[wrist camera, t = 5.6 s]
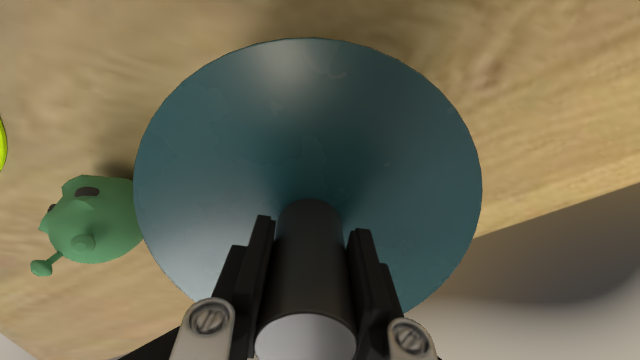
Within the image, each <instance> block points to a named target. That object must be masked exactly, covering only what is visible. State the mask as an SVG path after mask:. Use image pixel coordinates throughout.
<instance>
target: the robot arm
mask: <svg viewBox="0 0 640 360" xmlns="http://www.w3.org/2000/svg"><path fill="white" fill-rule="evenodd" d="M275 227H276V220H271V216H266V215H258V216H257V219H256V222H255V225H254V228H253V231H252V234H251V237H250V240H249V243H248V246H241V245H232V246H231V248H230V250H229V253H228V256H227V258H226V261H225V263H224V266H223V268H222V271H221V273H220V276H219V278H218V281H217V283H216V286H215V288H214V291H213V293H212V296H211V298H205V299H202V300H199V301H198V302H196V303H194V304H193V305H192V306H191V307H190V308H189V309H188V310H187V311H186V313H185V315H184V317H183V320H182V323H181V325H180V326H179V327H177V328H175V329H173V330H171V331H169V332H168V333H166V334H164V335H162V336H160V337H158V338H157V339H155V340H153V341H151V342H149V343H147V344H146V345H144V346H142V347H140V348H138V349H136V350H135V351H133V352H131V353H129V354H127V355H125V356H124V357H122V358H120V359H118V360H247V358H254V353H255V352H254V347H253V339H254V334H255V329H256V326H257V322H258V317H259V312H260V307H261V302H262V297H263V292H264V287H265V282H266V277H267V272H268V267H269V262H270V257H271V252H272V247H273V242H274V235H275ZM346 257H347V264H348V271H349V278H350V285H351V292H352V299H353V306H354V313H355V320H356V328H357V335H358V350H357V353H356V355H355V357H354V359H353V360H442V359H440V358H439V357H438V356H437V354H436V350H435V347H434V343H433V340H432V338H431V336H430V334H429V333H428V332H427V330H426V329H425V328H424V327H422V325H420V324H419V323H417V322H416V321H414V320H411V319H408V318H404V315H403V312H402V309H401V305H400V302H399V299H398V296H397V293H396V289H395V286H394V283H393V280H392V277H391V274H390V270H389V267H388V265H387V264H386V263H380V262H379V259H378V255H377V252H376V248H375V244H374V241H373V237H372V234H371V231H370V229H364V228H356V229H355V231H352V230H351V232H350V235H349V239H348V243H347V246H346Z"/></svg>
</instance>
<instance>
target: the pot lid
mask: <svg viewBox="0 0 640 360" xmlns="http://www.w3.org/2000/svg"><path fill="white" fill-rule="evenodd" d="M133 200H134V207H135V212H136V217H137V222H138V225H139V227H140V230H141V233H142V236H143V238H144V241H145V243H146V245H147V247H148V248H149V250H150V252H151V254H152V256H153V258H154V259H155V261H156V262H157V263H158V265H159V266H160V268H161V269H162V270H163V272H164V273H165V274H166V275H167V276H168V277H169V279H170V280H171V281H172V282H173V283H174V284H175V285H176V286H177V287H178V288H179V289H180V290H181V291H183V292H184V293H185V294H186V295H187V296H188V297H189V298H191V299H192V300H193V301H195V302H198V301H199V300H202V299H205V298H211V296H212V293H213V291H214V288H215V286H216V283H217V281H218V278H219V276H220V273H221V271H222V268H223V266H224V263H225V261H226V258H227V256H228V253H229V250H230V248H231V246H232V245H241V246H248V243H249V240H250V237H251V234H252V231H253V228H254V225H255V222H256V219H257V216H258V215H266V216H271V220H276V227H275V235H274V242H273V247H272V252H271V257H270V262H269V267H268V272H267V277H266V282H265V287H264V292H263V297H262V302H261V307H260V312H259V317H258V322H257V326H256V329H255V334H254V339H253V347H254V352H255V354H256V356H257V358H258V359H259V360H353V359H354V357H355V355H356V353H357V350H358V335H357V328H356V320H355V313H354V306H353V299H352V292H351V285H350V278H349V271H348V264H347V257H346V246H347V243H348V239H349V235H350V232H351V230H352V231H355V229H356V228H364V229H370V231H371V234H372V237H373V241H374V244H375V248H376V252H377V255H378V259H379V262H380V263H386V264H387V265H388V267H389V270H390V274H391V277H392V280H393V283H394V286H395V289H396V293H397V296H398V299H399V302H400V305H401V309H402V312H403V314H404V313H406V312H408V311H409V310H411V309H412V308H414V307H415V306H417V305H418V304H420V303H421V302H423V301H424V300H425V299H426V298H428V297H429V296H430V295H431V294H432V293H433V292H435V291H436V290H437V289H438V288H439V287H440V286H441V285H442V284H443V283H444V282H445V281H446V280H447V279H448V278H449V276H450V275H451V274H452V272H453V271H454V270H455V268H456V267H457V266H458V264H459V263H460V262H461V260H462V258H463V256H464V255H465V253H466V251H467V249H468V247H469V245H470V243H471V241H472V238H473V236H474V233H475V231H476V227H477V223H478V219H479V215H480V211H481V202H482V176H481V168H480V163H479V159H478V154H477V150H476V147H475V145H474V142H473V140H472V137H471V135H470V132H469V130H468V128H467V126H466V125H465V123H464V121H463V120H462V118H461V117H460V115H459V113H458V112H457V110H456V109H455V107H454V106H453V105H452V104H451V103H450V101H449V100H448V99H447V98H446V97H445V96H444V94H443V93H442V92H441V91H440V90H439V89H438V88H437V87H436V86H434V85H433V84H432V83H431V82H430V81H429V80H427V79H426V78H425V77H424V76H423V75H422V74H420V73H419V72H417V71H416V70H414V69H412V68H411V67H409V66H407V65H406V64H404V63H403V62H401V61H399V60H398V59H396V58H393V57H391V56H389V55H386V54H384V53H382V52H379V51H377V50H375V49H372V48H369V47H365V46H361V45H358V44H354V43H350V42H346V41H342V40H333V39H324V38H315V37H311V38H284V39H279V40H273V41H268V42H262V43H257V44H253V45H250V46H247V47H245V48H242V49H239V50H236V51H233V52H230V53H228V54H226V55H224V56H222V57H220V58H218V59H216V60H214V61H212V62H210V63H208V64H206V65H204V66H203V67H202V68H200V69H199V70H198V71H196V72H195V73H193V74H192V75H191V76H189V77H188V78H187V79H185V80H184V81H183V82H182V83H181V84H180V85H179V86H178V87H177V88H176V89H175V90H174V91H173V92H172V93H171V94H170V95H169V96H168V97H167V98H166V99H165V100H164V102H163V103H162V104H161V106H160V107H159V109H158V110H157V112H156V113H155V114H154V116H153V117H152V119H151V121H150V123H149V125H148V127H147V129H146V131H145V133H144V135H143V137H142V139H141V142H140V146H139V149H138V153H137V156H136V160H135V167H134V175H133Z"/></svg>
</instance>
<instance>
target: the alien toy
mask: <svg viewBox="0 0 640 360" xmlns="http://www.w3.org/2000/svg"><path fill="white" fill-rule="evenodd" d="M62 193H63V197H62V198H61V199H60V200H59V202H58V203H57V204H52V205H51V206H50V207H49V209H48V212H47V213H46V215H45V216H44V218H43V219H42V221H41V224H40V226H39V229H40V230H41V231H43V232H45V233H47V234H48V236H49V239H50V242H51V243H52V245H53V247H54V248H55V249H56V250H57V251H58V252H57V253H55V254H54V255H53V256H51V257H50V258H49V259H47V260H46V261H45V260H34V261H32V262H31V271H32V273H34V274H35V275H37V276H50V275H51V274H52V265H51V264H53V263H54V262H55V261H56V260H58V259H59V258H60V257H62V256H64V257H65V258H68V259H70V260H72V261H76V262H80V263H88V264H94V263H102V262H107V261H110V260H113V259H116V258H118V257H120V256H122V255H124V254H126V253H127V252H129V251H130V250H131V249H133V248H134V247H135V246H136V245H138V244H139V243H140V242H141V241H142V239H143V236H142V233H141V230H140V227H139V225H138V222H137V217H136V212H135V207H134V200H133V181H132V180H129V179H126V178H117V177H101V176H90V175H80V176H78V177H76V178H73V179H71V180H69V181H68V182H66V183H65V184H64V185H63V186H62Z"/></svg>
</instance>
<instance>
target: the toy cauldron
mask: <svg viewBox="0 0 640 360" xmlns="http://www.w3.org/2000/svg"><path fill="white" fill-rule="evenodd" d="M6 154H7V143H6V135H5V132H4V128H3V125H2V121H1V119H0V171H1V169H2V167H3V165H4V163H5V159H6Z"/></svg>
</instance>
